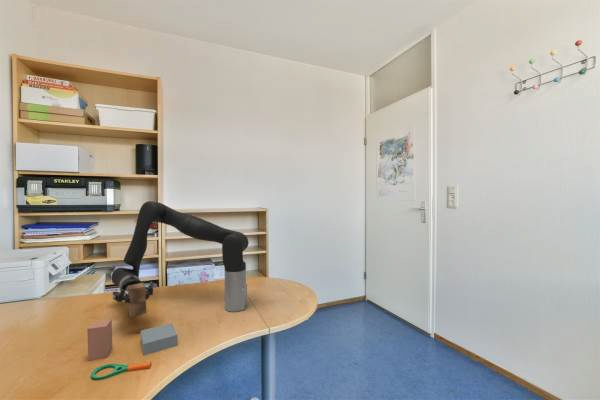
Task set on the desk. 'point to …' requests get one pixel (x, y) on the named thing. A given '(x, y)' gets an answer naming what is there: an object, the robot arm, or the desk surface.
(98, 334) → the brick-red block
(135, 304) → the walnut block
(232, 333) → the desk surface
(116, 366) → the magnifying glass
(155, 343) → the slate base block
